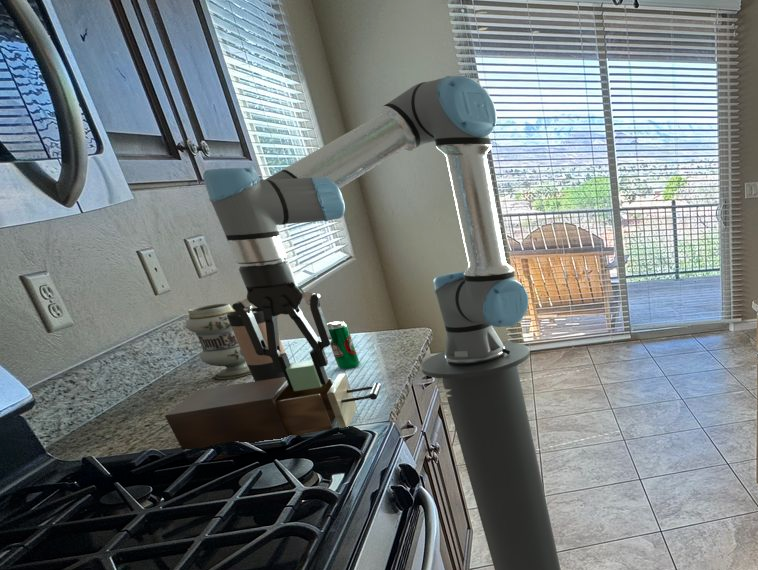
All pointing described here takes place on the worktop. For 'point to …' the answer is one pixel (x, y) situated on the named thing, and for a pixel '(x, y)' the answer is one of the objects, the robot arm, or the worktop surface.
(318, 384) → the block
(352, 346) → the soda can
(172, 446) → the worktop surface
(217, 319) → the apothecary jar
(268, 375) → the travel mug
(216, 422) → the cabinet
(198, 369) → the worktop surface
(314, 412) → the drawer
